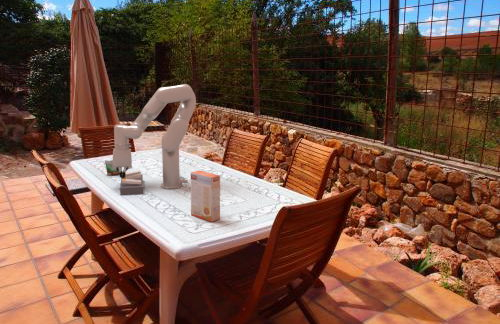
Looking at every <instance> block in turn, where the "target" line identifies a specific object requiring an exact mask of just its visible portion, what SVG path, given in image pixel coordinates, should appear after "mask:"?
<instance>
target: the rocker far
mask: <svg viewBox="0 0 500 324" xmlns="http://www.w3.org/2000/svg"><path fill="white" fill-rule="evenodd" d="M139 173H140V174H142V172H141V170H140V169H139V170H134V171H128V172H127V171H126V172H125V177H127V176H131V175H135V174H139Z"/></svg>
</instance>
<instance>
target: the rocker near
mask: <svg viewBox="0 0 500 324" xmlns="http://www.w3.org/2000/svg"><path fill="white" fill-rule="evenodd" d="M122 183H129V184H141V180H133V179H122Z"/></svg>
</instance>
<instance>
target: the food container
mask: <svg viewBox="0 0 500 324" xmlns="http://www.w3.org/2000/svg"><path fill="white" fill-rule="evenodd" d="M104 165H105V168H106V176H109V177H117V176H120V172H119V171H118V170H117V169H113V168H112V167H113V159H112V160H104ZM121 170H122V171H123V167H121Z"/></svg>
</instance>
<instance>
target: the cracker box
mask: <svg viewBox="0 0 500 324" xmlns="http://www.w3.org/2000/svg"><path fill="white" fill-rule="evenodd" d="M190 215H191V216H192V217H193V216H194V217H197V218H199V219H201V220H205V221H207V222H210V223H212V222H216V221H218V220H220V219H221V175H219V174H216V173H212V172H207V171H203V170H195V171H191V172H190Z"/></svg>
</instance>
